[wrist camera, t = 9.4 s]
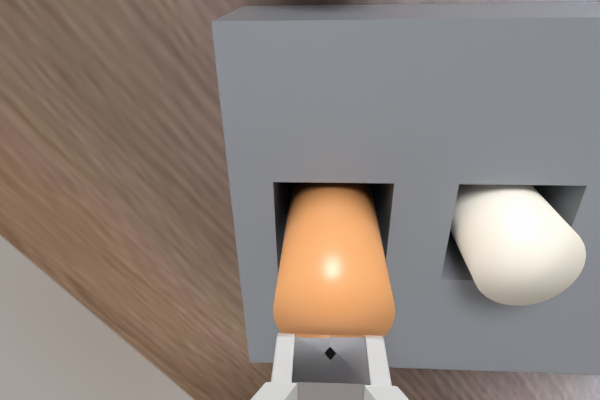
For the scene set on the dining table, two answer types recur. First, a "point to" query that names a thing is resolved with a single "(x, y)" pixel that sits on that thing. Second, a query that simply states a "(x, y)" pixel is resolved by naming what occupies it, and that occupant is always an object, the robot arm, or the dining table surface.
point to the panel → (420, 158)
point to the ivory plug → (515, 243)
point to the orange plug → (333, 264)
